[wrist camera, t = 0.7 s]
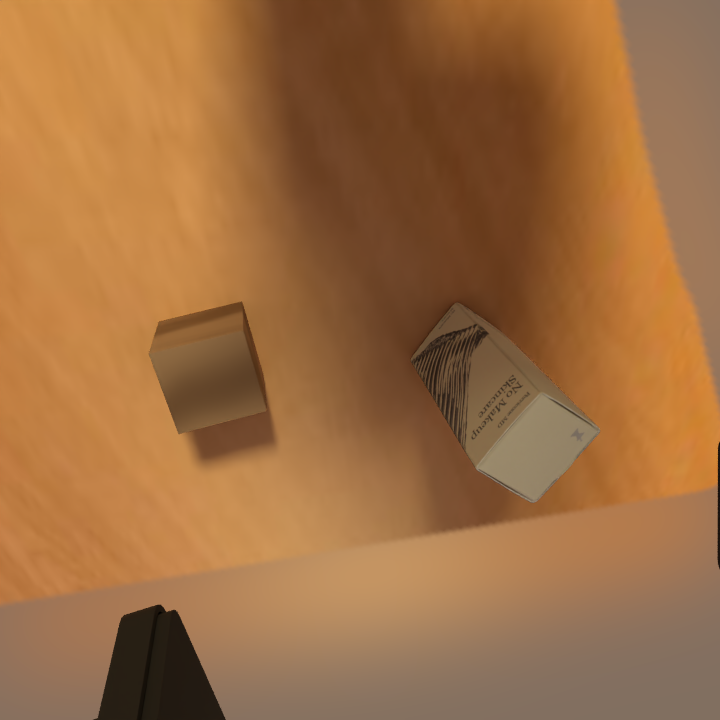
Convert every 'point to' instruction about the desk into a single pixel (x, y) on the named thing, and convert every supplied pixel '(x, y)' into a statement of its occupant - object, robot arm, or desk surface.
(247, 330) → the walnut cube
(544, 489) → the box
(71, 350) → the desk surface
